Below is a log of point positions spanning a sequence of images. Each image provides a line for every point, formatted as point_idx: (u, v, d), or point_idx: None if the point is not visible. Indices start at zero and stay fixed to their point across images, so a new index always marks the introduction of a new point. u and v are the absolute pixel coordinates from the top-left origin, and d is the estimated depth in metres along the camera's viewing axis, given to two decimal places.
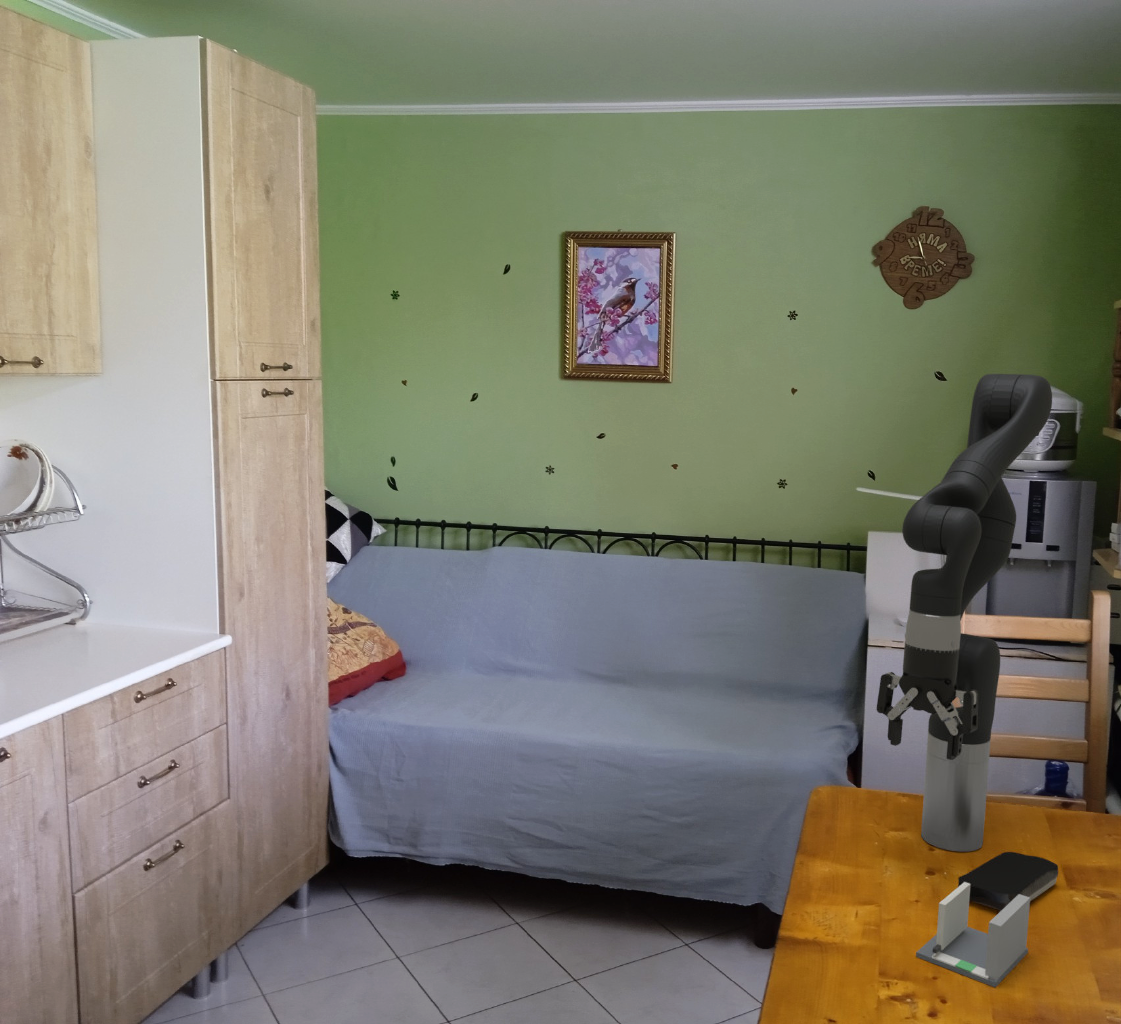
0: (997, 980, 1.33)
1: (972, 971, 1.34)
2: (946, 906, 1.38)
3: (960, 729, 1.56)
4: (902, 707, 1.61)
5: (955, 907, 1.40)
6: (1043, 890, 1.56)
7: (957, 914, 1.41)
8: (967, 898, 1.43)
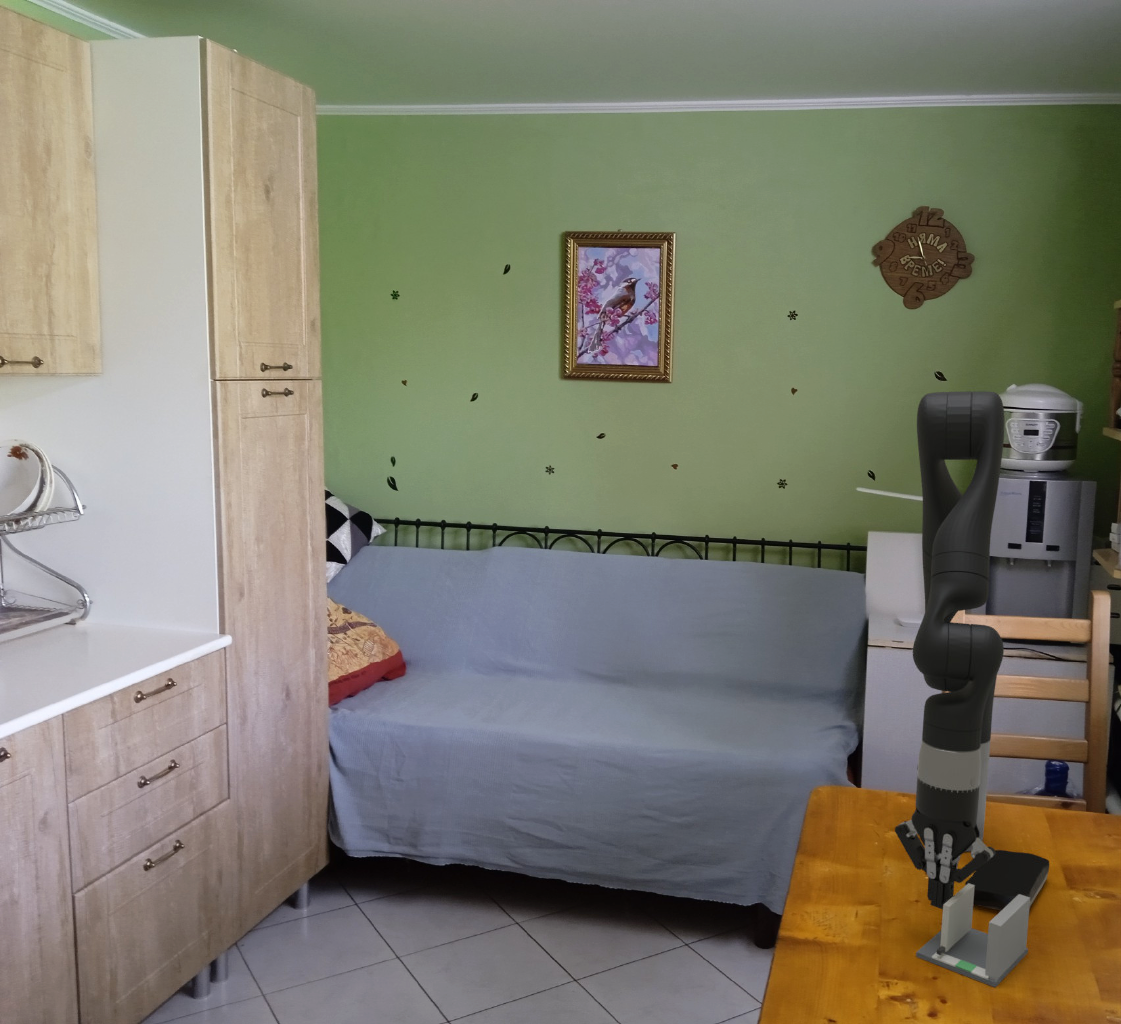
0: (997, 980, 1.33)
1: (972, 971, 1.34)
2: (950, 907, 1.38)
3: (951, 876, 1.40)
4: (932, 856, 1.40)
5: (959, 908, 1.40)
6: (1041, 887, 1.57)
7: (961, 915, 1.41)
8: (971, 899, 1.43)
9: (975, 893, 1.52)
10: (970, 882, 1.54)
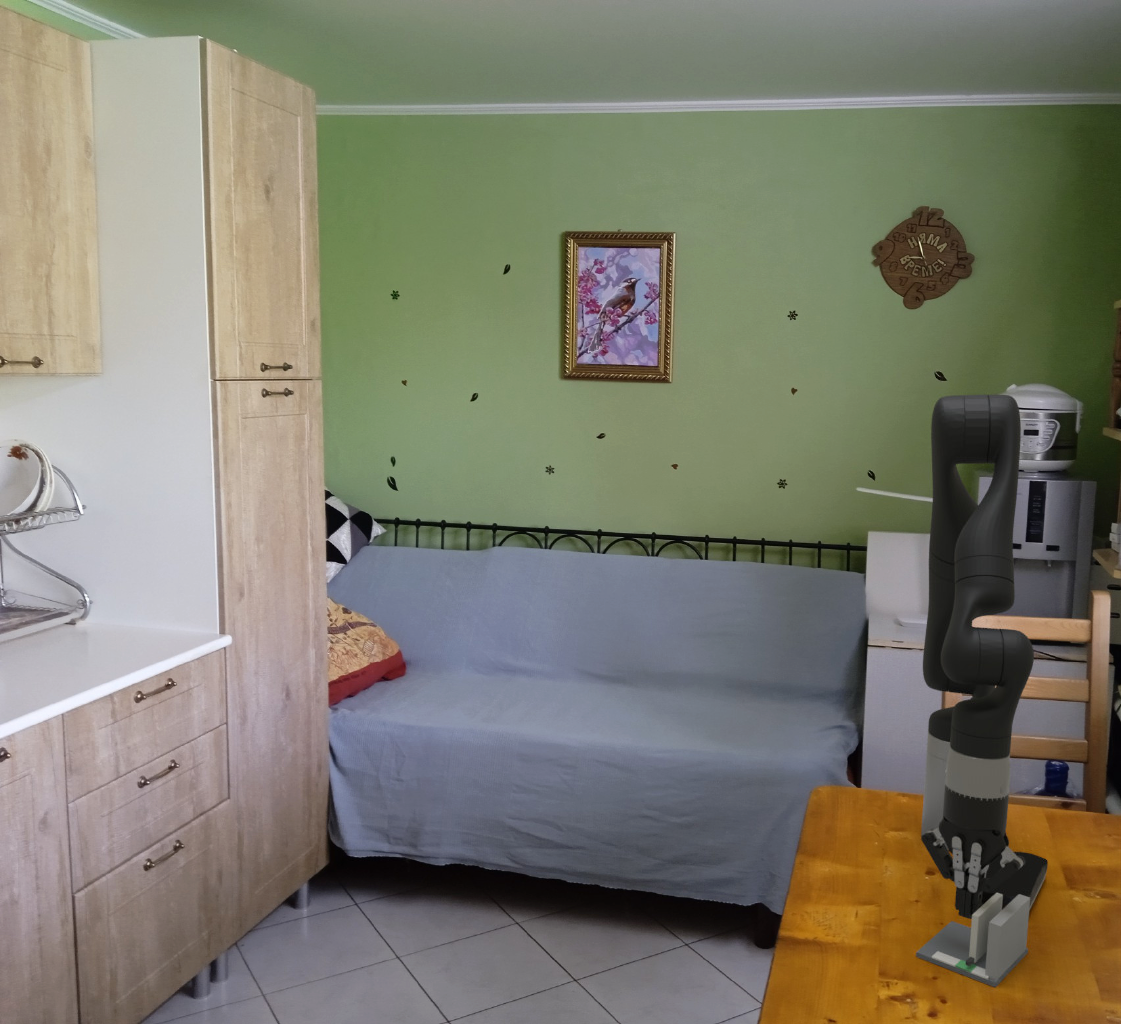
0: (997, 980, 1.33)
1: (972, 971, 1.34)
2: (979, 918, 1.35)
3: (979, 885, 1.38)
4: (960, 865, 1.38)
5: (988, 918, 1.37)
6: (1040, 886, 1.57)
7: None
8: (999, 909, 1.40)
9: None
10: None
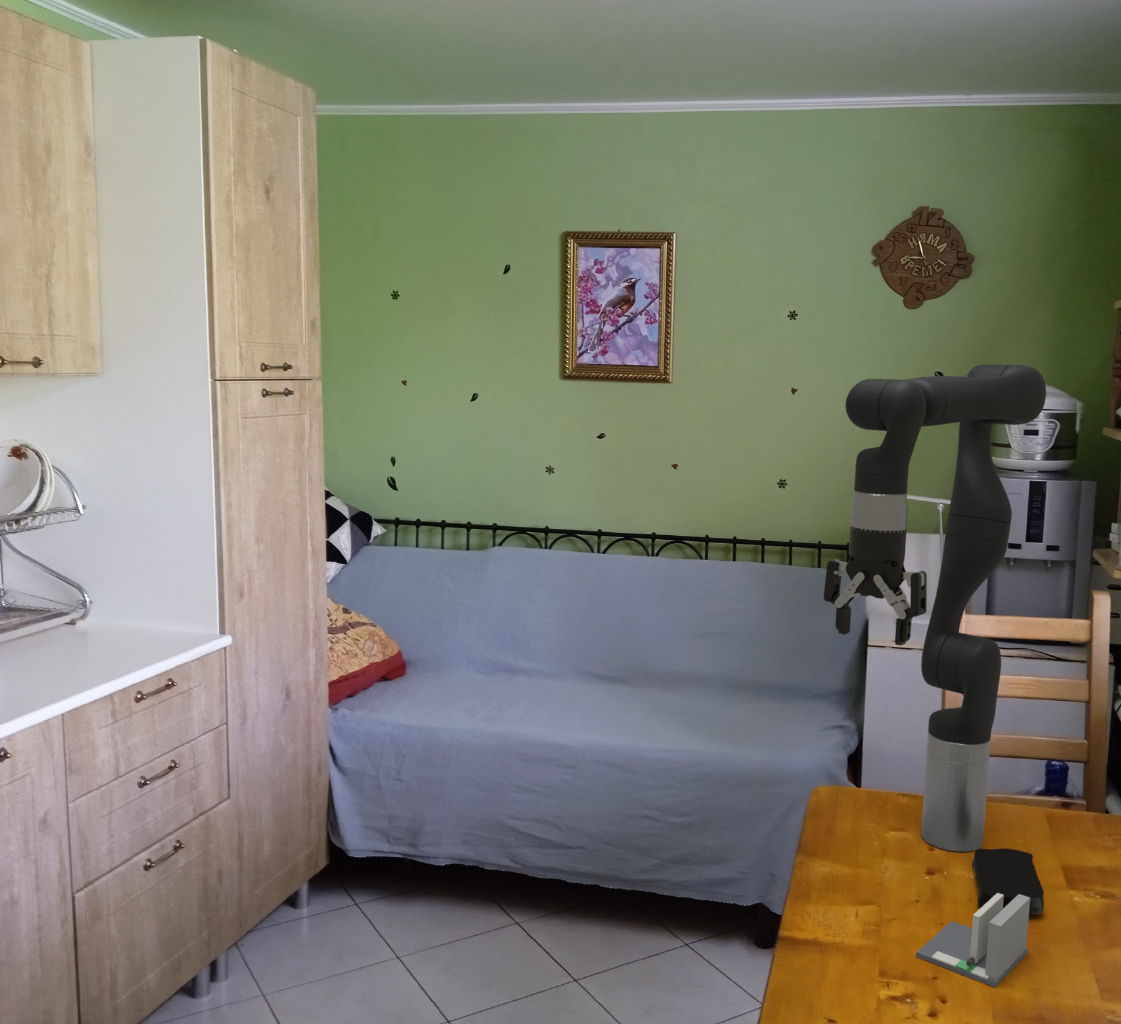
0: (997, 980, 1.33)
1: (972, 971, 1.34)
2: (980, 918, 1.35)
3: (908, 613, 1.50)
4: (849, 593, 1.54)
5: (989, 919, 1.37)
6: None
7: None
8: (1000, 909, 1.40)
9: None
10: (984, 889, 1.52)
